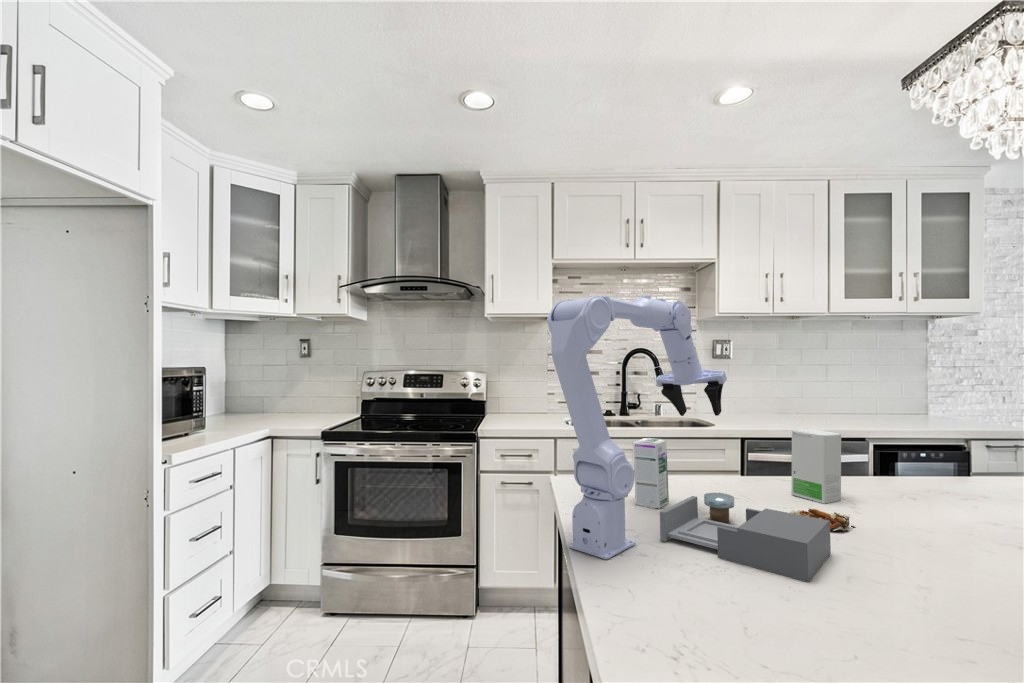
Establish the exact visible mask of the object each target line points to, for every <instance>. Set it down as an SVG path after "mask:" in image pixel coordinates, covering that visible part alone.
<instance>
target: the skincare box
mask: <svg viewBox="0 0 1024 683" xmlns="http://www.w3.org/2000/svg"><path fill="white" fill-rule="evenodd" d="M791 495H792V496H794V497H795V496H796V497H798V498H803V499H806V500H808V501H809V500H810V501H812V500H813V501H812V502H816V503H819V502H820V503H819V504H822V503H824V504H823V505H825V503H826V504H831V503H835V501H836V502H840V501H839V500H841V501H842V434H841V433H837V432H831V431H826V430H821V429H814V428H801V429H800V428H799V429H791ZM830 502H831V503H830Z"/></svg>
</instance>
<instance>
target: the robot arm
mask: <svg viewBox="0 0 1024 683" xmlns="http://www.w3.org/2000/svg"><path fill="white" fill-rule="evenodd" d="M615 319H620V320H622V319H623V320H629V321H630V323H631V324H632V325H633V326H635V327H637V328H644V329H645V328H646V329H652V330H654V331H655V332H658V331H659V334H660V337H661V340H662V344H663V346H664V349H665V352H666V357H667V358H668V362H669V365H670V368H671V373H666V374H659V375H658V376H657V377H656V378H655V382H656V386H657V387H659V388H662V389H661V392H660V393H661V394H662V396H664V397H665V398H666V399H667V400H668V401H670V403H671V404H672V406H673V407H674V408H675V409H676V411H677V412H678V413H679V416H681V417H684V416H685V414H686V413H687V412H688V411H687V406H686V403H685V399H684V396H683V392H682V386H689V385H694V384H695V385H696V384H707V385H706V386H705V387H704V388H703V391H704V393H705V394H706V397H707V398H708V400H709V402H710V404H711V408H712V412H713V414H714V416H716V417H718V416H720V415H721V413H722V412H723V411H722V392H723V387H724V384H725V383H726V381H727V380H728V378H727V374H726V371H725V370H709V369H702V364H701V363H700V359H699V356H698V353H697V350H696V347H695V346H696V345H695V343H694V340H693V337H692V334H693V327H692V311H691V309H690V308H689V307H688V305H687V304H685V303H684V302H682V301H680V300H679V301H678V300H677V301H672V302H670V301H667V299H666V298H658V299H653V298H652V296H651V295H650V294H649V295H648V294H646V295H645V294H644V295H641V296H640V297H637V298H636V299H634V300H633V301H630V300H626V299H625V300H624V299H621V298H617V297H616V298H615V297H611V296H609V295H602V296H600V295H593V296H590V297H583V298H579V299H578V298H577V299H573V300H572V299H571V300H560V301H558V302H556V303H555V304H553V307H552V309H551V310H550V312H549V314H548V316H547V318H546V322H547V325H548V329H549V332H550V335H551V351H550V352H551V356H552V362H553V363H554V367H555V371H556V374H557V377H558V380H559V383H560V387H561V390H562V393H563V396H564V400H565V402H566V406H567V409H568V413H569V416H570V419H571V422H572V426H573V429H574V432H575V435H576V438H577V442H578V445H579V446H578V447H577V448H576V449H575V451H574V452H573V453H572V460H573V464H574V465H573V466H574V468H573V476H574V480H575V482H576V484H577V485H578V486H579V487H580V492H581V493H582V499H581V500H580V501H579V502H578V503H577V504H575V505H574V507H573V510H572V516H571V517H572V543H569V544H568V547H569V549H572V550H577V551H579V552H582V553H585V554H588V555H591V556H595V557H598V558H601V559H602V560H603V559H604V560H609V559H610V558H612V557H614V556H616V555H617V554H620V553H621V552H624V551H625V550H628V549H629V548H631V547H633V546H635V545H636V541H635V540H633V539H629V538H626V505H625V504H626V500H625V499H626V498H628V497H629V494H630V492H631V491H632V489H633V487H634V485H635V473H634V467H633V465H632V463H630V462H629V461H628V459H627V458H626V453H625V451H624V450H623V449H622V448H621V447H620V446H619V445H617V443H615V442H614V441H613V440H612V439H611V437H610V434H609V430H608V427H607V423H606V420H605V417H604V413H603V410H602V406H601V403H600V400H599V396H598V393H597V390H596V387H595V383H594V379H593V376H592V373H591V369H590V367H589V362H588V359H587V354H588V353H589V352H590V350H591V349H593V347H594V346H595V345H596V344H597V343H598V341H599V340H600V339H601V338H602V336H603V335H604V334H605V332H606V331H607V330H608V328H609V327H610V325H611V322H614V321H615Z"/></svg>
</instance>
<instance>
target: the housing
mask: <svg viewBox="0 0 1024 683" xmlns="http://www.w3.org/2000/svg"><path fill="white" fill-rule="evenodd" d="M738 526H739V525H738ZM717 536H718V549H717V558H718V559H721V560H724V561H729V562H732V563H737V564H740V565H743V566H747V567H751V568H755V569H758V570H762V571H765V572H769V571H770V572H769V573H772V574H777V575H780V576H784V577H787V578H792V579H796V580H798V581H802V582H806V583H809V582H810V581H811V579H813V577H814V576H815V575H816V573H817V572H818V571H819V570H820V568H821V567H822V566H823V565H824V564H823V563H825V562H826V561H827V560H828V559H827V558H829V557H830V556H831V555H832V552H831V548H832V547H831V530H830V520H824V519H819V518H814V517H808V516H803V515H798V514H792V513H790V512H786V511H781V510H776V509H771V508H764V509H762V510H758V509H754V508H753V509H752V508H747V507H746V509H745V521H744V522H743V523H742V524H741V525H740V526H739V527H738V528H737V530H735V529H730V528H726V527H721V526H718V527H717ZM830 554H831V555H830ZM826 559H827V560H826Z"/></svg>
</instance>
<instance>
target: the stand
mask: <svg viewBox="0 0 1024 683" xmlns="http://www.w3.org/2000/svg"><path fill="white" fill-rule="evenodd" d="M709 520H712V521H716V522H721V523H725V524H730V508H728V509H720V508H713V507H709Z"/></svg>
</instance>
